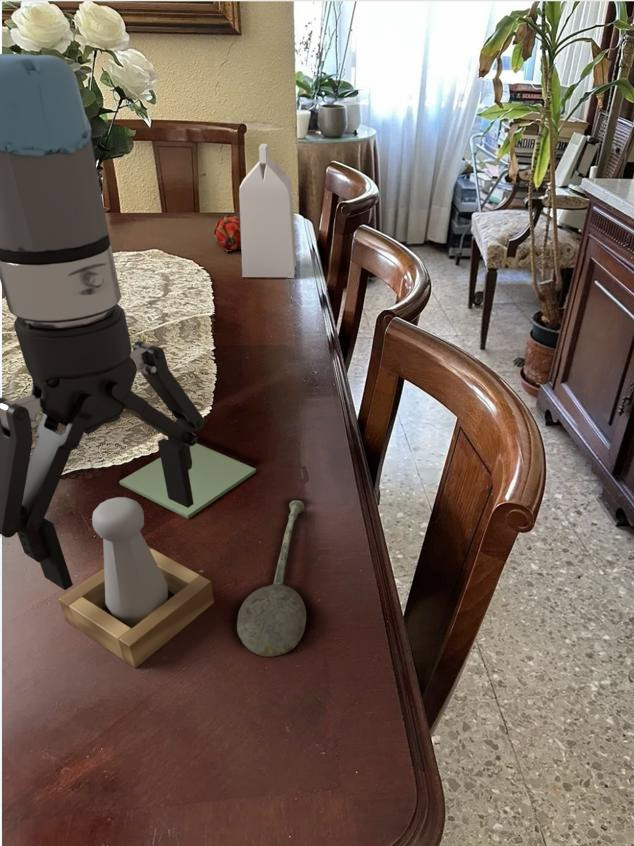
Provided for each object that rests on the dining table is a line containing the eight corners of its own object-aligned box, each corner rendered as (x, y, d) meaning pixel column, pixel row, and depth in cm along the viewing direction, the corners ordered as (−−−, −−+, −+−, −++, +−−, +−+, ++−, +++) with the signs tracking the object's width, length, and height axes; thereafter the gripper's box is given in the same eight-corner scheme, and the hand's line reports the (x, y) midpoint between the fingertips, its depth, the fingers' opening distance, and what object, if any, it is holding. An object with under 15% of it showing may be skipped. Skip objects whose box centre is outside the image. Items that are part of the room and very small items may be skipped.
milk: (247, 262, 157) (238, 140, 142) (296, 263, 158) (292, 141, 143) (242, 278, 147) (232, 150, 132) (294, 279, 148) (289, 151, 133)
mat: (119, 484, 83) (118, 481, 82) (190, 443, 91) (189, 440, 90) (188, 519, 77) (187, 515, 77) (256, 472, 85) (256, 468, 85)
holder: (65, 621, 64) (58, 598, 62) (146, 563, 71) (141, 542, 69) (135, 668, 59) (129, 646, 58) (214, 602, 66) (211, 581, 65)
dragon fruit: (239, 248, 172) (235, 269, 163) (210, 228, 168) (204, 249, 159) (256, 222, 167) (253, 242, 159) (227, 201, 164) (222, 221, 155)
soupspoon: (230, 659, 61) (300, 665, 61) (228, 635, 59) (301, 642, 59) (270, 508, 79) (325, 513, 79) (270, 486, 77) (326, 491, 77)
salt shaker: (183, 602, 66) (164, 498, 59) (145, 642, 62) (119, 535, 55) (137, 584, 68) (112, 481, 61) (97, 621, 64) (65, 516, 56)
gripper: (-81, 387, 37) (23, 644, 49) (228, 275, 54) (249, 486, 66) (-145, 355, 41) (-33, 603, 53) (164, 259, 58) (195, 463, 70)
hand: (124, 538), depth 60 cm, fingers open, 13 cm apart
